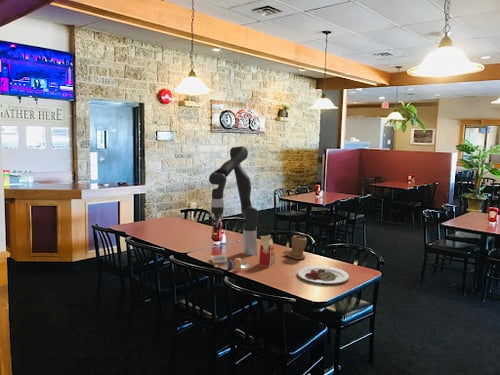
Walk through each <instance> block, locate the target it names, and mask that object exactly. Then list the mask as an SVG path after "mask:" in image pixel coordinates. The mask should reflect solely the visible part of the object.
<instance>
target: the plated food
mask: <svg viewBox="0 0 500 375" xmlns="http://www.w3.org/2000/svg"><path fill="white" fill-rule="evenodd" d="M296 273H297V276H298V277H299V278H301V279H303V280H305V281H308V282H310V283H311V282H312V283H316V284H322V283H324V284H325V285H326V284H329V285H330V284H331V285H332V284H340V283H344V282H347V281H348V280H349V277H350V275H349V274H348V273H347V272H346V270H345V271H344V270H342V269H339V268H336V267H333V266H332V267H331V266H327V265H326V266H325V265H309V266H305V267H301V268H300V269H298V270H297V272H296Z"/></svg>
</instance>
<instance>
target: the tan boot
mask: <svg viewBox="0 0 500 375" xmlns="http://www.w3.org/2000/svg"><path fill="white" fill-rule="evenodd" d="M291 237H292V238H291V249H290V250H284V251H283V252H282V254H283V255H284V256H288V257H290V258H292V259H295V260H304V259H305V258H306V256H305V254H304V250H305V248H306V246H307V244H308V243H307V242H308V239H307V238H306V237H305V236H302V235H299V234H298V235H295V234H294V235H293V236H291Z"/></svg>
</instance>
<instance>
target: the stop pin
mask: <svg viewBox="0 0 500 375" xmlns="http://www.w3.org/2000/svg"><path fill="white" fill-rule="evenodd" d="M234 261H235V269H233V271H234V272H236V273H241V272H242V269H241V262H242V258H241V257H236V258H234Z"/></svg>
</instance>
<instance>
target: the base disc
mask: <svg viewBox="0 0 500 375" xmlns="http://www.w3.org/2000/svg"><path fill="white" fill-rule="evenodd" d="M232 265H233V261H232ZM213 266H214V268H219V264H218V263H215V264H214V265H213ZM223 266H224V268H226V269H228V262H224V264H223ZM249 267H250V264H249V263H248V262H245V261H241V270H244V269H247V268H249ZM232 270H235V267H234V268H233V269H232Z"/></svg>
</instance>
